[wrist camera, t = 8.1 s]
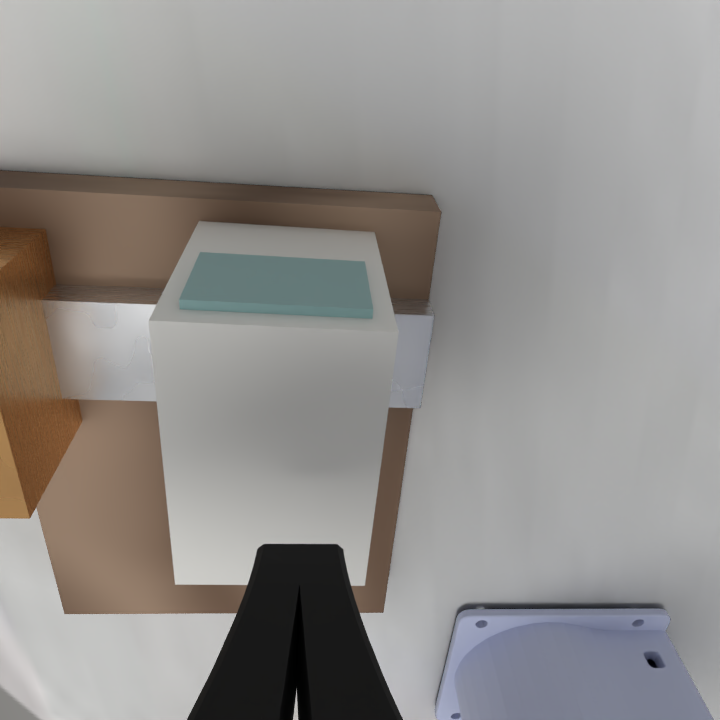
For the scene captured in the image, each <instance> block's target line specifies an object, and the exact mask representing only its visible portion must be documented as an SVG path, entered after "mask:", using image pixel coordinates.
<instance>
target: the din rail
mask: <svg viewBox="0 0 720 720" xmlns="http://www.w3.org/2000/svg"><path fill="white" fill-rule="evenodd" d="M164 289H165V288H141V287H117V286H93V285H70V284H56V281H55V275H54V270H53V265H52V260H51V255H50V250H49V244H48V239H47V234H46V229H31V228H11V227H0V518H30V517H31V515H32V514H33V512H34V510H35V508H36V506H37V504H38V503H39V501H40V499H41V497H42V495H43V493H44V491H45V490H46V488H47V486H48V484H49V482H50V480H51V479H52V477H53V475H54V473H55V471H56V469H57V467H58V466H59V464H60V462H61V460H62V458H63V456H64V455H65V453H66V451H67V449H68V447H69V445H70V443H71V442H72V440H73V438H74V436H75V434H76V432H77V430H78V429H79V427H80V425H81V423H82V421H83V420H82V415H81V410H80V405H79V400H78V399H84V400H123V401H157V400H156V390H155V380H154V370H153V361H152V351H151V341H150V331H149V319H150V317H151V315H152V313H153V311H154V309H155V307H156V305H157V303H158V301H159V299H160V297H161V295H162V293H163V291H164ZM391 303H392V307H393V311H394V315H395V319H396V323H397V328H398V332H399V333H398V341H397V348H396V356H395V363H394V371H393V378H392V386H391V393H390V401H389V407H393V408H421V401H422V394H423V388H424V381H425V375H426V368H427V362H428V355H429V349H430V342H431V335H432V329H433V322H434V313H433V310H432V308H431V305H430V302H429V300H426V299H402V298H391Z"/></svg>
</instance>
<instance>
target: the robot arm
mask: <svg viewBox="0 0 720 720" xmlns="http://www.w3.org/2000/svg"><path fill="white" fill-rule="evenodd" d="M670 620H671V619H670V617H669V615H668V613H667V611H666V610H664V609H659V608H656V609H468V610H464V611H462V612H460V613H459V614H458V616H457V619H456V623H455V627H454V631H453V635H452V640H451V644H450V648H449V652H448V656H447V660H446V665H445V669H444V673H443V677H442V681H441V685H440V689H439V694H438V698H437V702H436V706H435V715H436V718H437V719H438V720H714V719H713V717H712V716H711V714H710V712H709V710H708V708H707V706H706V704H705V703H704V701H703V699H702V697H701V695H700V693H699V692H698V690H697V688H696V686H695V684H694V682H693V681H692V679H691V677H690V675H689V673H688V671H687V670H686V668H685V666H684V664H683V662H682V660H681V659H680V657H679V655H678V653H677V651H676V649H675V648H674V646H673V644H672V642H671V640H670V638H669V637H668V635H667V633H666V629H667V627H668V625H669V623H670ZM296 688H297V701H298V719H299V720H403V719H402V717H401V715H400V712H399V710H398V708H397V706H396V704H395V702H394V699H393V697H392V695H391V693H390V690H389V688H388V686H387V683H386V681H385V679H384V676H383V674H382V671H381V669H380V666H379V664H378V661H377V659H376V656H375V654H374V651H373V649H372V646H371V644H370V641H369V639H368V636H367V633H366V630H365V628H364V625H363V622H362V619H361V616H360V613H359V610H358V607H357V604H356V601H355V598H354V594H353V591H352V587H351V584H350V580H349V576H348V572H347V567H346V563H345V557H344V550H343V548H341V547H340V546H339V545H338V544H263V545H262V546H260V547H259V548H258V549H257V552H256V557H255V561H254V565H253V569H252V572H251V575H250V579H249V582H248V585H247V588H246V590H245V593H244V596H243V599H242V601H241V604H240V606H239V609H238V612H237V614H236V617H235V619H234V622H233V624H232V626H231V629H230V631H229V633H228V635H227V638H226V640H225V642H224V644H223V647H222V649H221V651H220V654H219V656H218V658H217V660H216V663H215V665H214V667H213V669H212V671H211V673H210V675H209V677H208V679H207V681H206V683H205V685H204V687H203V689H202V691H201V693H200V695H199V697H198V699H197V701H196V703H195V705H194V707H193V709H192V711H191V713H190V715H189V717H188V719H187V720H293V714H294V705H295V697H296Z"/></svg>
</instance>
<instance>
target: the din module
mask: <svg viewBox="0 0 720 720" xmlns="http://www.w3.org/2000/svg"><path fill="white" fill-rule="evenodd" d="M149 331H150V341H151V351H152V361H153V370H154V380H155V390H156V400H157V410H158V420H159V430H160V440H161V450H162V460H163V470H164V480H165V489H166V499H167V509H168V519H169V529H170V539H171V549H172V559H173V569H174V579H175V585H248V582H249V579H250V575H251V572H252V569H253V565H254V561H255V557H256V552H257V549H258V548H259V547H260V546H262V545H263V544H338V545H339V546H340V547H341V548H343V550H344V557H345V563H346V567H347V572H348V576H349V580H350V584H351V586H365V580H366V573H367V565H368V558H369V551H370V543H371V536H372V528H373V521H374V513H375V506H376V498H377V491H378V483H379V476H380V468H381V461H382V453H383V446H384V438H385V431H386V423H387V416H388V408H389V401H390V393H391V386H392V378H393V371H394V363H395V356H396V348H397V341H398V333H399V332H398V328H397V323H396V319H395V315H394V311H393V307H392V303H391V298H390V294H389V290H388V286H387V282H386V278H385V273H384V269H383V265H382V261H381V257H380V253H379V248H378V244H377V240H376V236H375V232H366V231H350V230H334V229H318V228H302V227H286V226H270V225H254V224H238V223H222V222H206V221H199V222H198V224H197V226H196V228H195V230H194V232H193V234H192V236H191V238H190V240H189V242H188V244H187V246H186V248H185V250H184V251H183V253H182V255H181V257H180V259H179V261H178V263H177V265H176V267H175V269H174V271H173V273H172V275H171V277H170V279H169V281H168V283H167V285H166V287H165V289H164V291H163V293H162V295H161V297H160V299H159V301H158V303H157V305H156V307H155V309H154V311H153V313H152V315H151V317H150V319H149Z"/></svg>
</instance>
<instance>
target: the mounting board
mask: <svg viewBox="0 0 720 720" xmlns="http://www.w3.org/2000/svg"><path fill="white" fill-rule="evenodd" d="M440 217H441V210H440V209H439V207H438V205H437V203H436V202H435V200H434V198H433V196H432V195H418V194H400V193H383V192H366V191H348V190H331V189H314V188H296V187H279V186H262V185H244V184H227V183H210V182H192V181H175V180H158V179H140V178H123V177H106V176H88V175H71V174H54V173H36V172H19V171H2V170H0V227H11V228H31V229H46V234H47V239H48V244H49V250H50V255H51V260H52V265H53V270H54V275H55V281H56V284H70V285H93V286H117V287H141V288H165V287H166V285H167V283H168V281H169V279H170V277H171V275H172V273H173V271H174V269H175V267H176V265H177V263H178V261H179V259H180V257H181V255H182V253H183V251H184V250H185V248H186V246H187V244H188V242H189V240H190V238H191V236H192V234H193V232H194V230H195V228H196V226H197V224H198V222H199V221H206V222H222V223H238V224H254V225H270V226H286V227H302V228H318V229H334V230H350V231H366V232H375V236H376V240H377V244H378V248H379V253H380V257H381V261H382V265H383V269H384V273H385V278H386V282H387V286H388V290H389V294H390V298H402V299H426V300H429V293H430V287H431V280H432V273H433V266H434V259H435V252H436V245H437V238H438V231H439V224H440ZM78 400H79V405H80V410H81V415H82V420H83V421H82V423H81V425H80V427H79V429H78V430H77V432H76V434H75V436H74V438H73V440H72V442H71V443H70V445H69V447H68V449H67V451H66V453H65V455H64V456H63V458H62V460H61V462H60V464H59V466H58V467H57V469H56V471H55V473H54V475H53V477H52V479H51V480H50V482H49V484H48V486H47V488H46V490H45V491H44V493H43V495H42V497H41V499H40V501H39V503H38V504H37V506H36V507H37V511H38V515H39V519H40V522H41V526H42V530H43V534H44V538H45V541H46V545H47V549H48V553H49V557H50V560H51V564H52V568H53V572H54V575H55V579H56V583H57V587H58V591H59V594H60V598H61V602H62V606H63V610H64V613H65V614H164V613H237V612H238V609H239V606H240V604H241V601H242V599H243V596H244V593H245V590H246V588H247V585H175V579H174V569H173V559H172V549H171V539H170V529H169V519H168V509H167V499H166V489H165V480H164V470H163V460H162V450H161V440H160V430H159V420H158V410H157V401H123V400H84V399H78ZM412 411H413V408H393V407H389V408H388V416H387V423H386V431H385V438H384V446H383V453H382V461H381V468H380V476H379V483H378V491H377V498H376V506H375V513H374V521H373V528H372V536H371V543H370V551H369V558H368V565H367V573H366V580H365V586H351V587H352V591H353V594H354V598H355V601H356V604H357V607H358V610H359V613H383V611H384V604H385V597H386V590H387V583H388V577H389V570H390V563H391V556H392V549H393V542H394V535H395V528H396V521H397V514H398V507H399V501H400V494H401V487H402V480H403V473H404V466H405V459H406V452H407V445H408V438H409V432H410V425H411V418H412Z"/></svg>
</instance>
